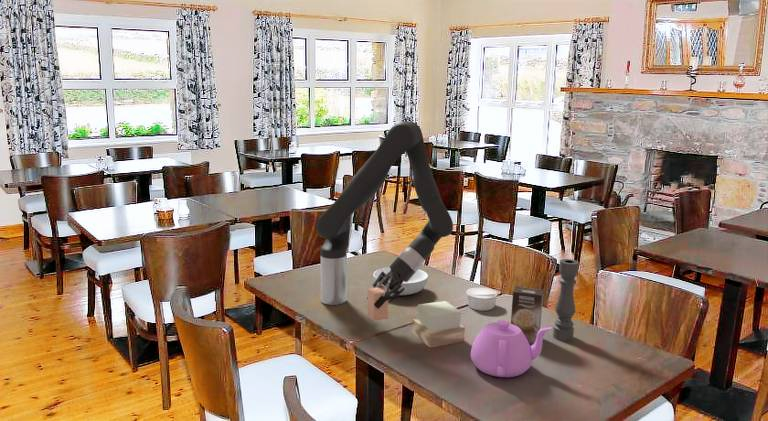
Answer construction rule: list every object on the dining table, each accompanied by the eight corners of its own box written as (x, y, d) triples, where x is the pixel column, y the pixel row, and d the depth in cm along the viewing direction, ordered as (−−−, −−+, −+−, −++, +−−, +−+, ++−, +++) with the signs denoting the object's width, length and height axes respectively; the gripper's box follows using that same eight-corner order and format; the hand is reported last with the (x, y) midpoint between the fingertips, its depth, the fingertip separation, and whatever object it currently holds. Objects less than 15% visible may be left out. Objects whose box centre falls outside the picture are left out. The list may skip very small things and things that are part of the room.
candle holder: (562, 342, 194) (569, 265, 189) (548, 335, 200) (554, 260, 194) (577, 339, 197) (584, 263, 192) (563, 331, 203) (569, 257, 197)
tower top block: (417, 319, 199) (417, 304, 198) (445, 315, 202) (445, 300, 201) (430, 331, 190) (431, 316, 189) (459, 327, 193) (460, 311, 192)
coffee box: (508, 340, 195) (511, 291, 192) (511, 332, 201) (514, 285, 198) (538, 344, 193) (542, 295, 189) (540, 336, 198) (544, 288, 195)
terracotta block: (367, 315, 202) (367, 288, 200) (381, 312, 204) (381, 286, 202) (373, 320, 198) (374, 293, 196) (387, 318, 200) (388, 291, 198)
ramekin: (483, 314, 216) (483, 300, 215) (458, 305, 224) (459, 291, 223) (503, 307, 223) (504, 293, 222) (479, 298, 232) (479, 285, 230)
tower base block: (412, 333, 200) (412, 319, 199) (444, 328, 205) (445, 313, 204) (430, 348, 189) (430, 333, 188) (464, 342, 194) (464, 327, 193)
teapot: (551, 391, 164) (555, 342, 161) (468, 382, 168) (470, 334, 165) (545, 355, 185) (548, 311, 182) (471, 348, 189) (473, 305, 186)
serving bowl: (437, 289, 241) (437, 272, 239) (409, 305, 224) (410, 287, 222) (391, 279, 252) (391, 262, 250) (361, 293, 234) (362, 276, 233)
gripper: (390, 250, 206) (356, 289, 204) (410, 263, 193) (374, 304, 191) (404, 264, 209) (370, 302, 207) (424, 277, 197) (389, 318, 194)
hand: (372, 303), depth 199 cm, fingers closed on terracotta block, 5 cm apart
